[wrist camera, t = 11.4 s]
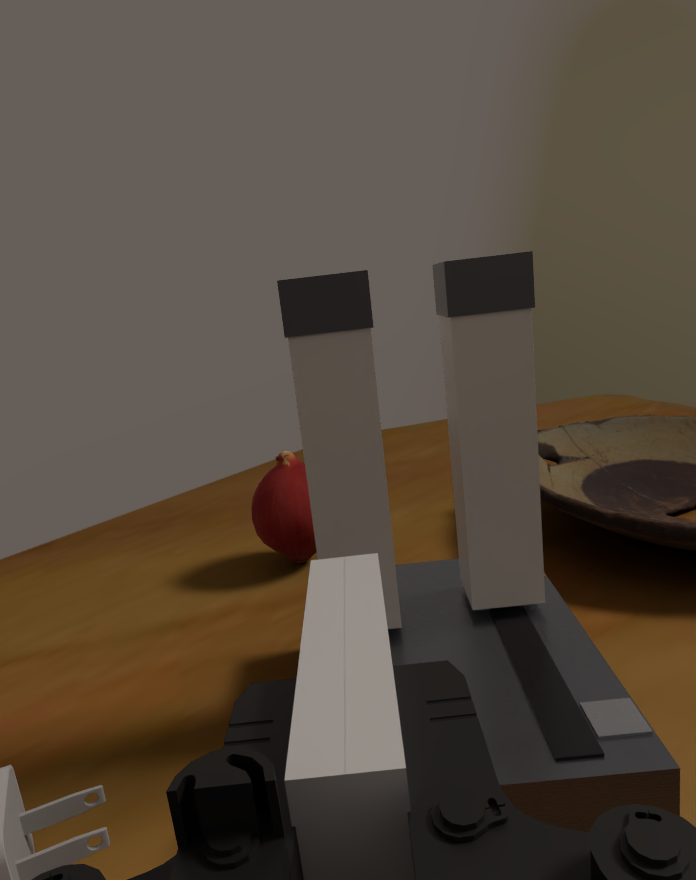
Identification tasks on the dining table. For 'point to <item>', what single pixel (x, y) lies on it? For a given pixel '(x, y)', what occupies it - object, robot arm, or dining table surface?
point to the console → (537, 699)
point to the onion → (285, 510)
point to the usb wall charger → (9, 829)
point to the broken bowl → (624, 475)
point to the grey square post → (341, 420)
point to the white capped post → (493, 425)
